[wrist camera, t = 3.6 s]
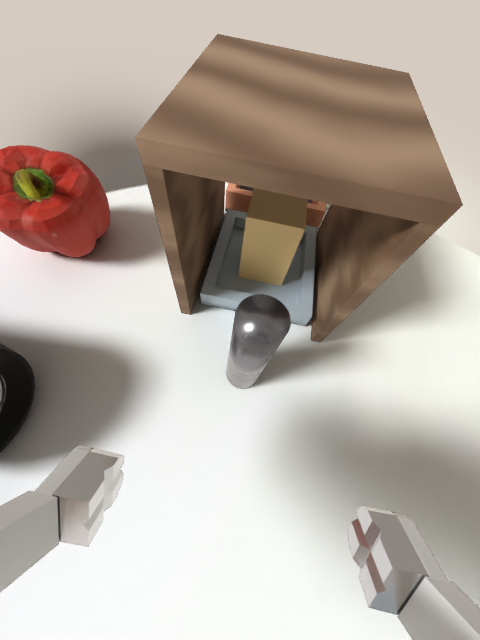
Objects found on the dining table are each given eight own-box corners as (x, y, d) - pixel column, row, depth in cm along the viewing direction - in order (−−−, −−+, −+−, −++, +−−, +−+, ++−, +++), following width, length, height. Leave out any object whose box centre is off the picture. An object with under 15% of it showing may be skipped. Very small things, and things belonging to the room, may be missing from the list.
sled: (227, 221, 31) (232, 123, 22) (310, 239, 31) (353, 148, 22) (178, 375, 22) (148, 319, 12) (300, 401, 21) (370, 367, 12)
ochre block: (245, 245, 29) (255, 181, 22) (285, 253, 29) (308, 192, 22) (238, 276, 27) (246, 217, 20) (281, 285, 27) (305, 229, 20)
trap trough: (236, 178, 37) (237, 157, 34) (318, 195, 37) (326, 175, 34) (225, 211, 33) (226, 190, 30) (316, 230, 33) (325, 211, 30)
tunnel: (216, 214, 32) (217, 33, 18) (323, 236, 32) (408, 73, 18) (181, 312, 25) (135, 136, 11) (320, 342, 25) (462, 205, 10)
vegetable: (137, 260, 28) (101, 174, 19) (39, 294, 24) (-61, 210, 16) (107, 203, 31) (65, 110, 23) (19, 227, 28) (-70, 129, 19)
